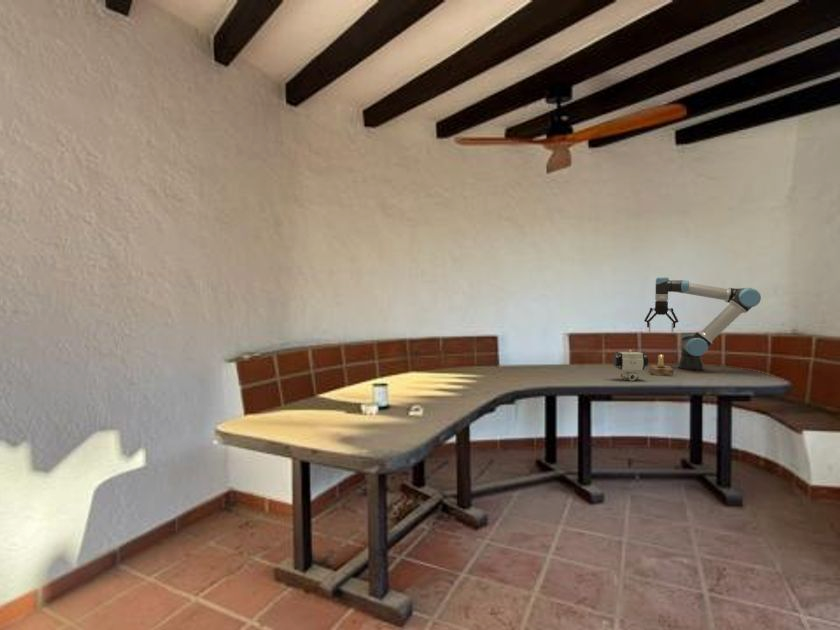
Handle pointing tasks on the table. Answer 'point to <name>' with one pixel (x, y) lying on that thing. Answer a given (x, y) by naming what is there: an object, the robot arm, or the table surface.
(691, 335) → the robot arm
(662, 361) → the brass peg
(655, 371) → the hole block
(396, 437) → the table surface
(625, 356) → the ball valve
